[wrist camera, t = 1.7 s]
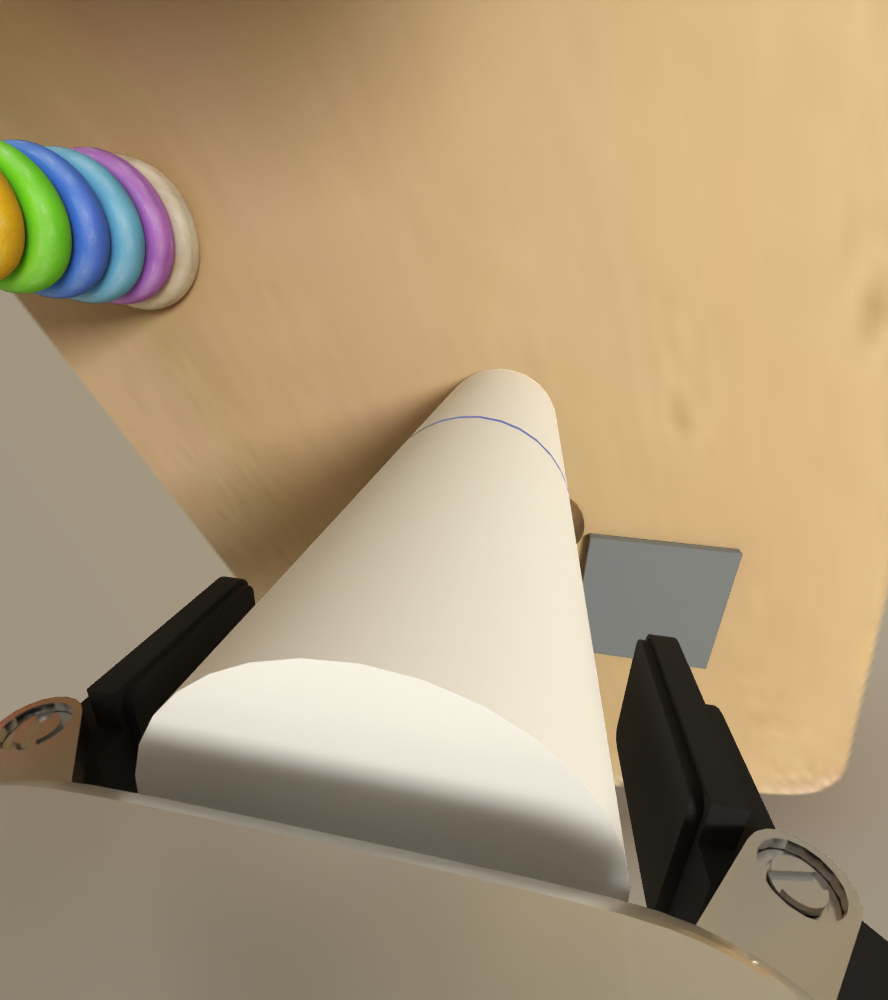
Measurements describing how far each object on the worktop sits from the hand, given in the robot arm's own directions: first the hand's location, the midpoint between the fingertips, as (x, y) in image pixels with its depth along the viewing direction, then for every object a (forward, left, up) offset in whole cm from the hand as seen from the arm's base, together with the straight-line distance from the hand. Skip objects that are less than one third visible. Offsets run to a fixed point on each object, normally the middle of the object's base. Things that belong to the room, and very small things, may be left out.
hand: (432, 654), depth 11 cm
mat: (+10, +11, -20) cm, 25 cm away
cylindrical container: (-1, 0, -20) cm, 20 cm away
